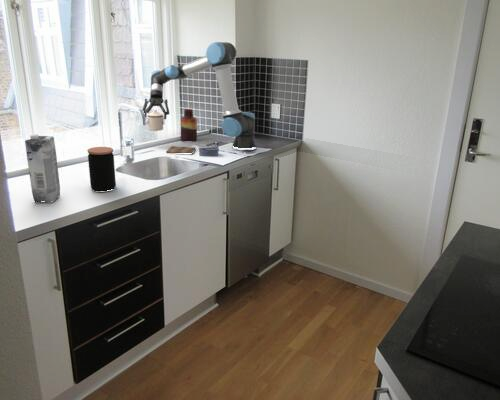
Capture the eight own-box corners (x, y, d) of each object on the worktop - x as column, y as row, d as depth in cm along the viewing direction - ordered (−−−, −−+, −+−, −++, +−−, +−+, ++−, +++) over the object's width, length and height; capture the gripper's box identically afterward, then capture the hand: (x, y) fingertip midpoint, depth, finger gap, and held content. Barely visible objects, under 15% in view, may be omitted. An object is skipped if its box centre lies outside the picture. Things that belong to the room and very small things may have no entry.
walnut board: (195, 149, 271) (195, 147, 270) (191, 154, 258) (191, 152, 257) (172, 148, 272) (172, 146, 271) (166, 153, 258) (166, 151, 258)
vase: (191, 137, 302) (191, 108, 295) (199, 140, 294) (199, 110, 287) (177, 139, 295) (177, 109, 288) (186, 142, 288) (185, 111, 281)
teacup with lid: (166, 129, 267) (166, 110, 263) (155, 131, 260) (154, 111, 256) (153, 126, 274) (152, 108, 270) (141, 128, 267) (140, 109, 263)
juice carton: (63, 195, 185) (55, 132, 176) (53, 204, 176) (45, 138, 166) (41, 194, 185) (33, 131, 176) (30, 203, 175) (21, 137, 166)
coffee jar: (107, 183, 202) (104, 145, 196) (120, 188, 196) (118, 149, 190) (86, 188, 195) (82, 149, 188) (99, 194, 188) (96, 153, 182)
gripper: (174, 97, 277) (173, 126, 267) (139, 96, 274) (137, 126, 265) (173, 89, 270) (173, 119, 261) (138, 88, 268) (136, 119, 258)
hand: (155, 123), depth 263 cm, fingers closed on teacup with lid, 9 cm apart
